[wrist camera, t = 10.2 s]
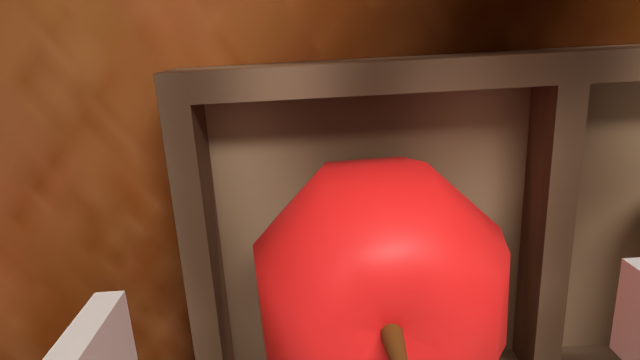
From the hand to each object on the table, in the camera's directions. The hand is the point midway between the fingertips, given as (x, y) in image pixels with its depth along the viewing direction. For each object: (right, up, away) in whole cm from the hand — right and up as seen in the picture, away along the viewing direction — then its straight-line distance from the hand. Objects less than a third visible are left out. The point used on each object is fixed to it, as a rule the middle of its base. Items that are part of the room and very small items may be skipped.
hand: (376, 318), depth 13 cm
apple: (0, +2, +6) cm, 6 cm away
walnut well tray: (+7, +2, +6) cm, 9 cm away
